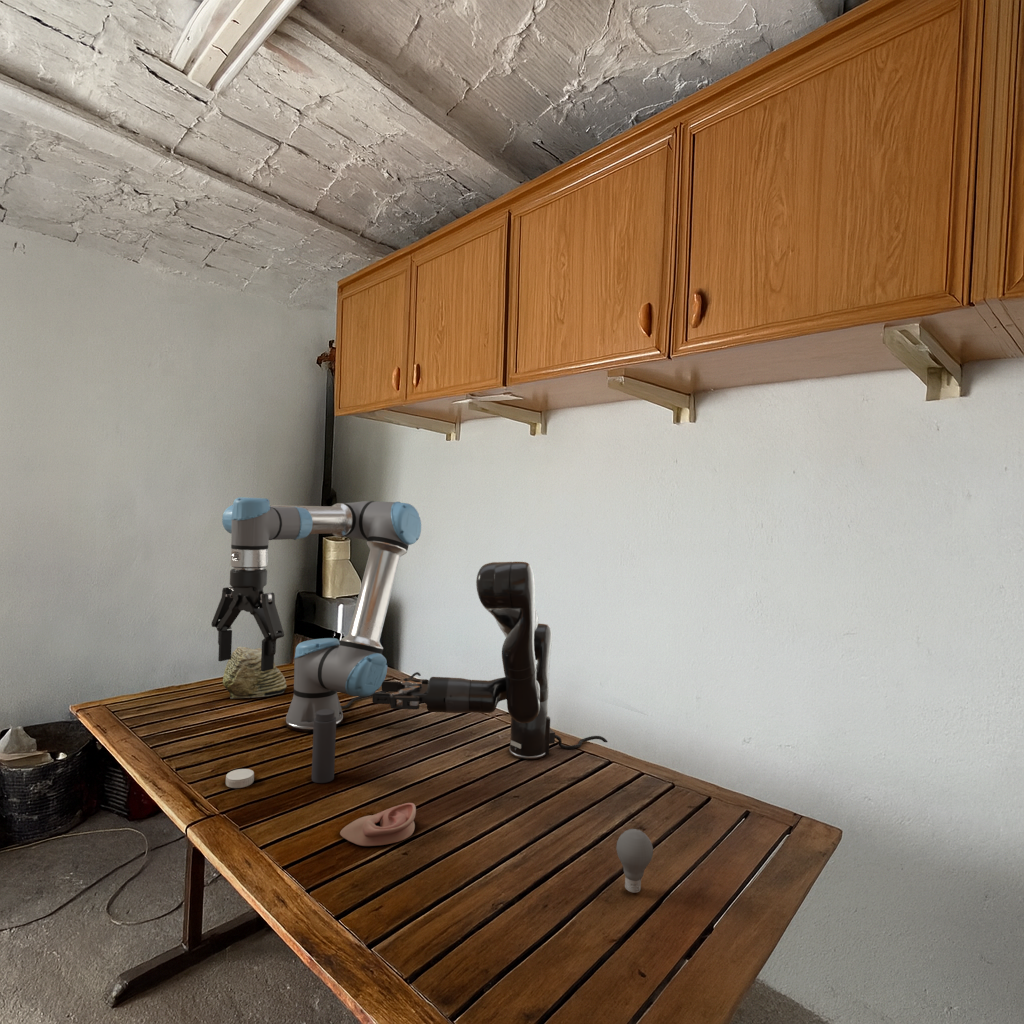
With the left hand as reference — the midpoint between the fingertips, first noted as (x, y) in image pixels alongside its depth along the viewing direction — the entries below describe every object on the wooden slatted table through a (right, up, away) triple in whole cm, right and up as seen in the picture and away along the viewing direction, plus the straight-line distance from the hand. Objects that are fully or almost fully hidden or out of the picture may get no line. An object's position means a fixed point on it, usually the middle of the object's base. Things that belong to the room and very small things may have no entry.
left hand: (245, 665), depth 139 cm
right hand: (+28, -7, +2) cm, 29 cm away
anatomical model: (+33, -28, -18) cm, 46 cm away
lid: (-1, -24, 0) cm, 24 cm away
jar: (+16, -27, +4) cm, 31 cm away
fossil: (-22, -24, +59) cm, 68 cm away
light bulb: (+78, -30, -33) cm, 90 cm away
